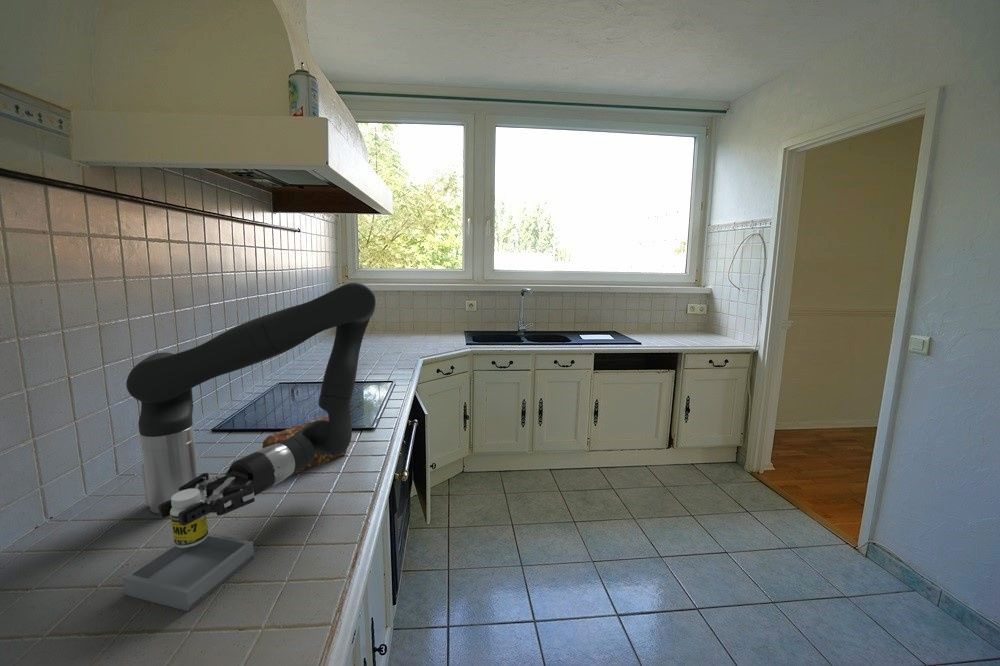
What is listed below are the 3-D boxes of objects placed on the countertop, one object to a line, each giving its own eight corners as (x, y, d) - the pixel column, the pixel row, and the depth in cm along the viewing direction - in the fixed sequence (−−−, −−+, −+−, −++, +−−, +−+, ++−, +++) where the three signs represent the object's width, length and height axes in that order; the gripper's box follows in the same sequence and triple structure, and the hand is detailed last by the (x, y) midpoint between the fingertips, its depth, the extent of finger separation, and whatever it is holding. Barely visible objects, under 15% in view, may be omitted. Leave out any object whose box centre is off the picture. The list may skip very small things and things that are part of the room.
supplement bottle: (169, 551, 74) (162, 504, 72) (181, 533, 78) (174, 489, 76) (203, 545, 75) (196, 499, 73) (212, 529, 79) (206, 485, 78)
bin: (125, 594, 73) (122, 577, 72) (197, 545, 85) (195, 530, 85) (189, 611, 70) (186, 593, 69) (254, 557, 82) (252, 541, 81)
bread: (329, 445, 130) (327, 412, 129) (350, 455, 124) (348, 421, 122) (262, 468, 116) (259, 431, 114) (281, 481, 109) (278, 442, 108)
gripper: (236, 444, 90) (140, 485, 75) (287, 458, 84) (194, 505, 69) (240, 479, 92) (147, 526, 76) (291, 495, 86) (201, 548, 71)
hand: (170, 515), depth 73 cm, fingers closed on supplement bottle, 4 cm apart
